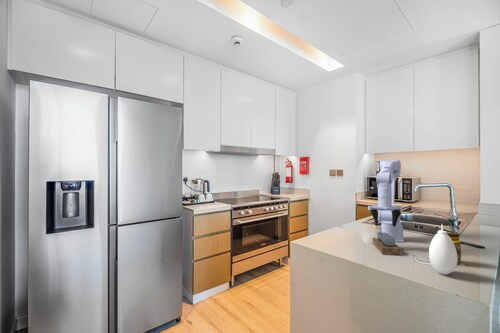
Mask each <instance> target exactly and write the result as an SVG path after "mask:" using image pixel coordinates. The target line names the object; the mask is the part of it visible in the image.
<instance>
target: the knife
mask: <svg viewBox="0 0 500 333" xmlns="http://www.w3.org/2000/svg"><path fill="white" fill-rule="evenodd" d="M422 234H423V235H424V233H422ZM425 235H426V236H429V237H433V238H434V236H435V235H432V234H429V233H428V234H427V233H425ZM460 242H461V245H465V246H467V247H468V246H469V247H473V248H476V249H481V250H482V249H486V247H485V246H484V245H481V244H476V243H472V242H467V241H462V240H460Z"/></svg>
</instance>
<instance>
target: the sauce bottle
mask: <svg viewBox="0 0 500 333" xmlns="http://www.w3.org/2000/svg"><path fill="white" fill-rule="evenodd" d="M446 231H447V230H444V225H443V223H441V229H439V230H437V233H436V234H435V235H433V236H434V237H433V238H432V240H431V242H430V244H429V249H428V256H429V262H430V264H431V266H432V269H434V270H435V271H436V272H437V273H439V274H440V275H443V276H444V275H445V276H447V275H449V274H450V273H453V272H454V271H455V270H456V268H457V267H458V266H457V251H456V248H455V245H454V243H453V241H452V240H451V238H450V237H449V235H448V234H447V232H446Z"/></svg>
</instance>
